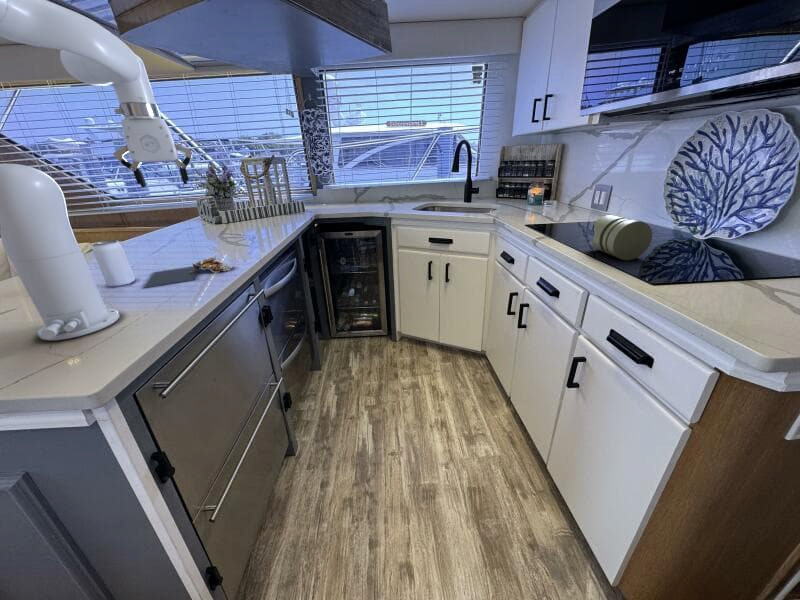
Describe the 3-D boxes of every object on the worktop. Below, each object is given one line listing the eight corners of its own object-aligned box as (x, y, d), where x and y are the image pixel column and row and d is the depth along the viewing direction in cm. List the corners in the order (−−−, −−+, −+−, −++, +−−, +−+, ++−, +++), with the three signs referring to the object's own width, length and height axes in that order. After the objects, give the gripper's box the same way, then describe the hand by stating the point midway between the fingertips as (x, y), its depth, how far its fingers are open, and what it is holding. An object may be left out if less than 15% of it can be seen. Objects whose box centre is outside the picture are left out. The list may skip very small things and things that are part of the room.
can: (119, 287, 90) (102, 245, 85) (101, 286, 91) (83, 245, 86) (141, 279, 96) (125, 240, 91) (123, 279, 97) (107, 239, 92)
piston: (618, 249, 106) (626, 214, 101) (646, 259, 95) (656, 220, 90) (585, 250, 105) (592, 215, 101) (609, 261, 94) (618, 222, 90)
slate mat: (194, 280, 93) (194, 279, 93) (144, 288, 89) (144, 287, 89) (198, 266, 107) (197, 266, 107) (154, 272, 102) (154, 272, 102)
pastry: (228, 272, 99) (225, 261, 97) (188, 274, 99) (185, 263, 97) (237, 265, 105) (235, 255, 104) (201, 267, 105) (197, 256, 104)
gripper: (93, 111, 74) (123, 189, 81) (180, 112, 81) (200, 183, 88) (102, 115, 80) (129, 187, 87) (182, 115, 87) (201, 182, 94)
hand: (165, 185), depth 88 cm, fingers open, 9 cm apart
